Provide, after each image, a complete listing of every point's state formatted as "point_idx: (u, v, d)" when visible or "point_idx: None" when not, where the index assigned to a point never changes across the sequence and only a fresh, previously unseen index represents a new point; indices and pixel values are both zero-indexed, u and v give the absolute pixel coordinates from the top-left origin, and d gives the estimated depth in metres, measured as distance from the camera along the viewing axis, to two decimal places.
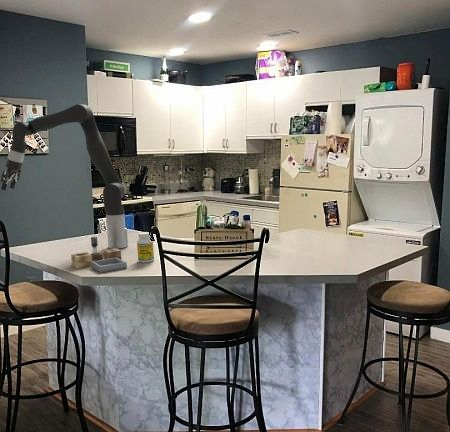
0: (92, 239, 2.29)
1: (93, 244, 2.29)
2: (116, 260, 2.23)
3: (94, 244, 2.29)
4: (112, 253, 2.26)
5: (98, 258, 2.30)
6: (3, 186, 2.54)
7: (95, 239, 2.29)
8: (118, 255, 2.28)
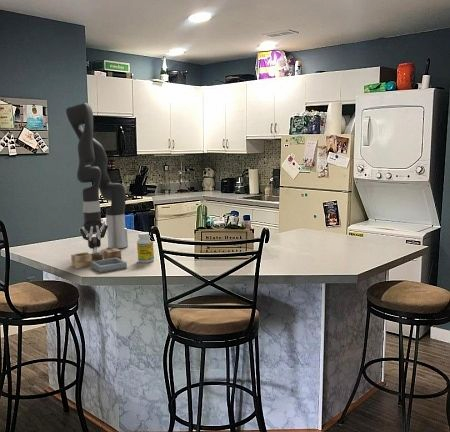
0: (92, 239, 2.29)
1: (93, 244, 2.29)
2: (116, 260, 2.23)
3: (94, 244, 2.29)
4: (112, 253, 2.26)
5: (98, 258, 2.30)
6: None
7: (95, 239, 2.29)
8: (118, 255, 2.28)
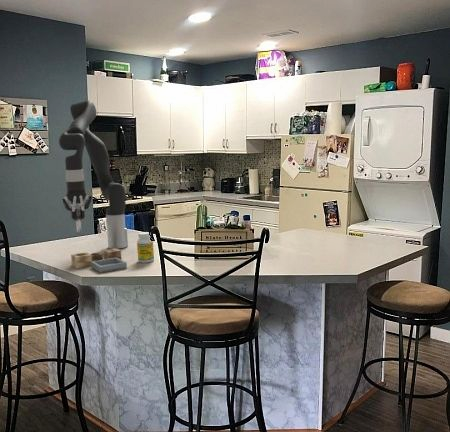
0: (75, 210, 2.18)
1: (76, 216, 2.18)
2: (116, 260, 2.23)
3: (77, 216, 2.18)
4: (112, 253, 2.26)
5: (98, 258, 2.30)
6: (83, 214, 2.21)
7: (79, 210, 2.18)
8: (118, 255, 2.28)
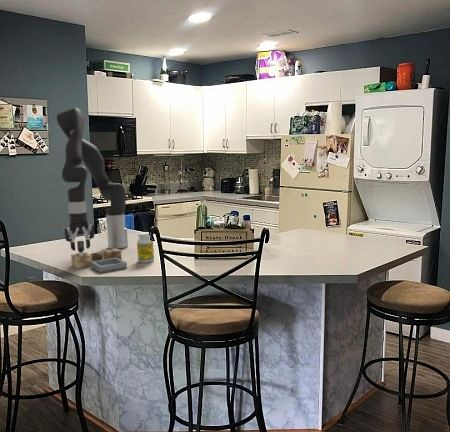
0: (78, 243, 2.20)
1: (79, 248, 2.20)
2: (116, 260, 2.23)
3: (80, 248, 2.21)
4: (112, 253, 2.26)
5: (98, 258, 2.30)
6: (89, 243, 2.24)
7: (81, 243, 2.20)
8: (118, 255, 2.28)
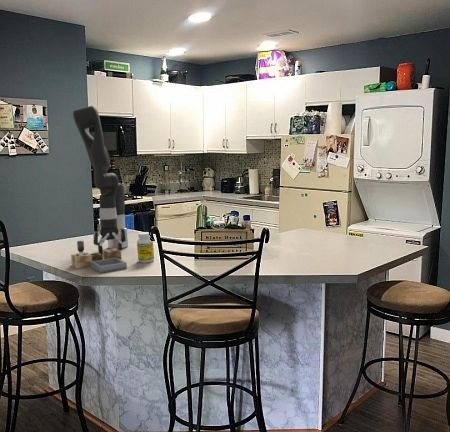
0: (78, 243, 2.20)
1: (79, 248, 2.21)
2: (116, 260, 2.23)
3: (80, 248, 2.21)
4: (112, 253, 2.26)
5: (98, 258, 2.30)
6: None
7: (81, 243, 2.21)
8: (118, 255, 2.28)
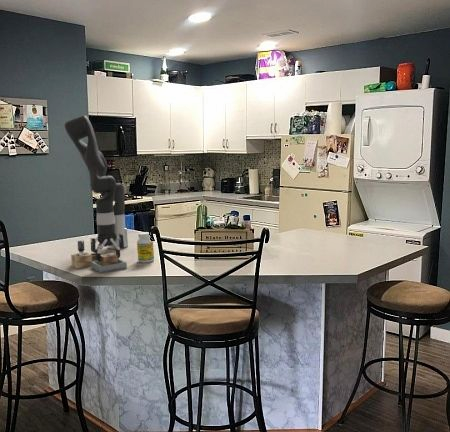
0: (79, 243, 2.20)
1: (80, 248, 2.21)
2: None
3: (81, 248, 2.21)
4: (108, 258, 2.14)
5: None
6: None
7: (82, 243, 2.21)
8: (114, 260, 2.15)
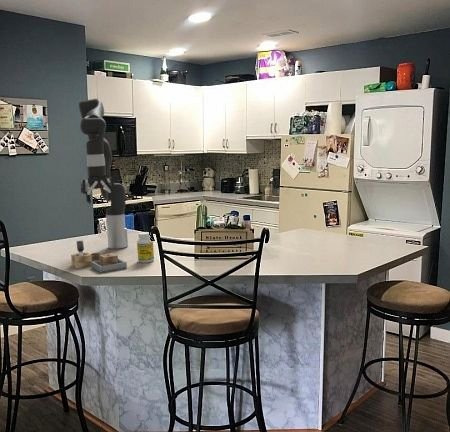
0: (78, 243, 2.21)
1: (79, 248, 2.21)
2: None
3: (80, 248, 2.21)
4: (108, 258, 2.14)
5: (98, 258, 2.30)
6: None
7: (81, 243, 2.21)
8: (114, 260, 2.15)
